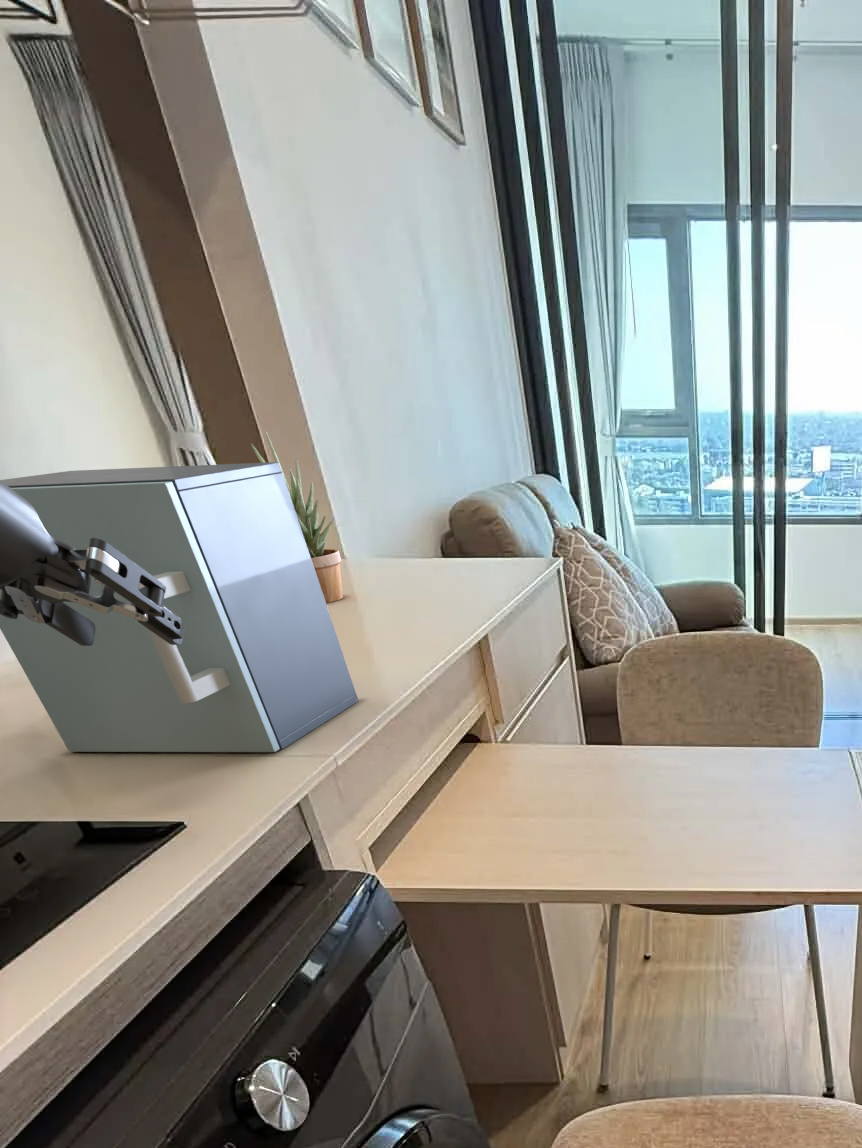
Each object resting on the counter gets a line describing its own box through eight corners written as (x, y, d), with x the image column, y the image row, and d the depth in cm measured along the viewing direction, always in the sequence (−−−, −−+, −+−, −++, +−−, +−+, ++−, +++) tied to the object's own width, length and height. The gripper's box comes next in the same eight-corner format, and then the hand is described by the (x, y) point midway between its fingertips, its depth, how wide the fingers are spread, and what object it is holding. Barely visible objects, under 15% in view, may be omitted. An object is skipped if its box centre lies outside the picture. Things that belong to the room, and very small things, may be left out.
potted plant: (286, 602, 150) (226, 433, 134) (336, 592, 155) (284, 428, 140) (312, 608, 144) (253, 433, 129) (364, 597, 150) (312, 428, 135)
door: (240, 774, 82) (115, 490, 68) (24, 772, 85) (-140, 500, 70) (280, 749, 87) (172, 481, 73) (76, 748, 90) (-67, 491, 76)
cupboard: (282, 749, 88) (173, 479, 73) (78, 749, 90) (-66, 488, 76) (358, 701, 100) (279, 461, 85) (177, 702, 103) (70, 470, 88)
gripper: (-171, 551, 57) (55, 677, 73) (13, 545, 55) (204, 676, 71) (-151, 450, 58) (69, 597, 74) (31, 442, 56) (216, 593, 72)
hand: (135, 635), depth 73 cm, fingers open, 8 cm apart
